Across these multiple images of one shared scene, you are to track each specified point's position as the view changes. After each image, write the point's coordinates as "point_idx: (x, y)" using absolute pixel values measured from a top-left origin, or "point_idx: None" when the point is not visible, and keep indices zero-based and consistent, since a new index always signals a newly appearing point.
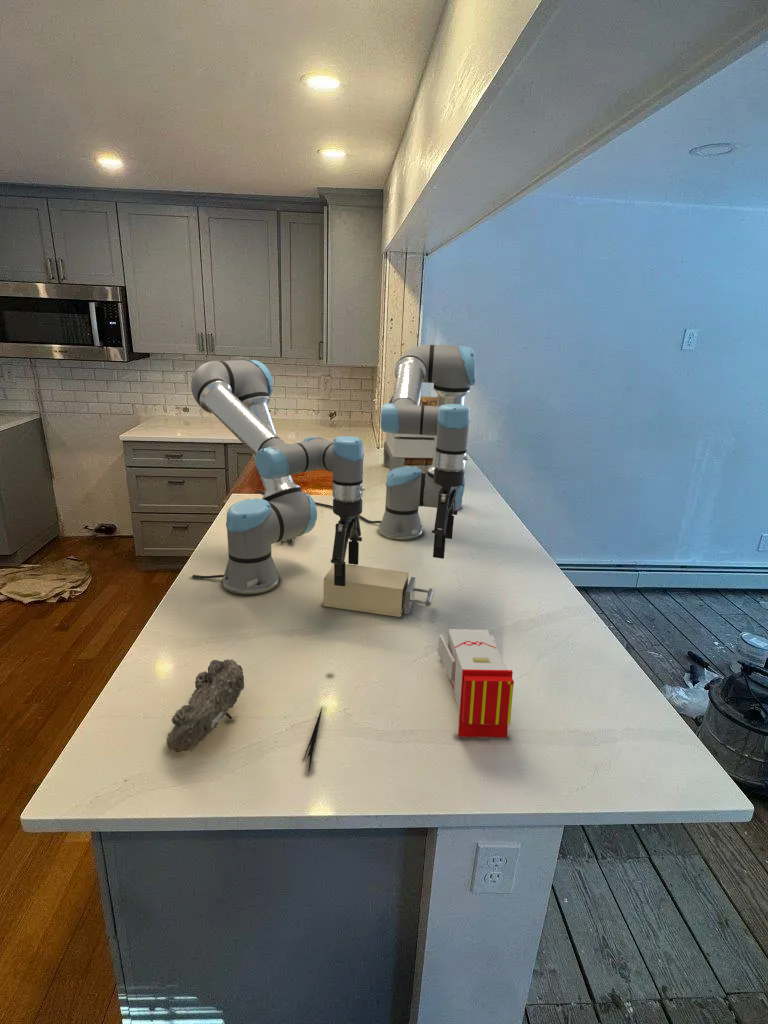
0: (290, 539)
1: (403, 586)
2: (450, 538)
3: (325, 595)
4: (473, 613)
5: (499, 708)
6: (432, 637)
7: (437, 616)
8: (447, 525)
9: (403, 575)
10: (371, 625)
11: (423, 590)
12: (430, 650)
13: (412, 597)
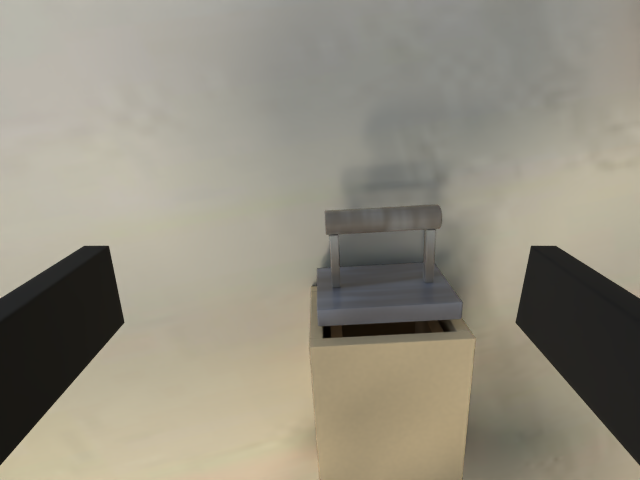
0: None
1: (446, 338)
2: (107, 258)
3: None
4: (336, 29)
5: None
6: (542, 158)
7: (399, 166)
8: (36, 366)
9: (349, 359)
10: (501, 342)
11: (338, 253)
12: (623, 150)
13: (370, 277)
